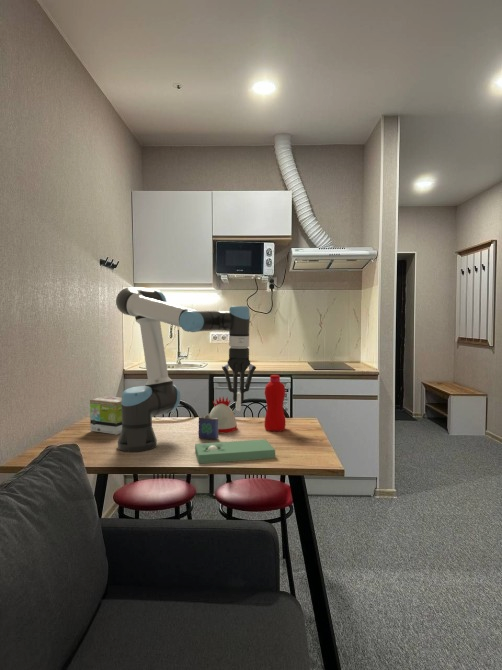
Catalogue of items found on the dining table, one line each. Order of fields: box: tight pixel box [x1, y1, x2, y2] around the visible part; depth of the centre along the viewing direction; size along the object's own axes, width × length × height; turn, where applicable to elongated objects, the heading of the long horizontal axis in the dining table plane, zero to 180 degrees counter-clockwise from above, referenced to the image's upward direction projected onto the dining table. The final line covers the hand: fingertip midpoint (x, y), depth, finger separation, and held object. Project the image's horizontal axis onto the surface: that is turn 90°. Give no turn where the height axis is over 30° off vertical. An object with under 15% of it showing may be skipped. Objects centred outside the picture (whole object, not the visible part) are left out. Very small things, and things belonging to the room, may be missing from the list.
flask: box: [198, 413, 219, 441], centre depth 188 cm, size 9×3×11 cm, turn 68°
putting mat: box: [194, 438, 276, 464], centre depth 166 cm, size 28×14×3 cm, turn 102°
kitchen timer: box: [209, 396, 238, 434], centre depth 204 cm, size 14×14×15 cm
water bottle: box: [264, 374, 286, 432], centre depth 203 cm, size 9×11×25 cm
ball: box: [208, 445, 218, 451], centre depth 164 cm, size 4×4×4 cm
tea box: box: [89, 395, 122, 436], centre depth 201 cm, size 15×10×15 cm, turn 68°
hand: (238, 409), depth 166 cm, fingers closed
